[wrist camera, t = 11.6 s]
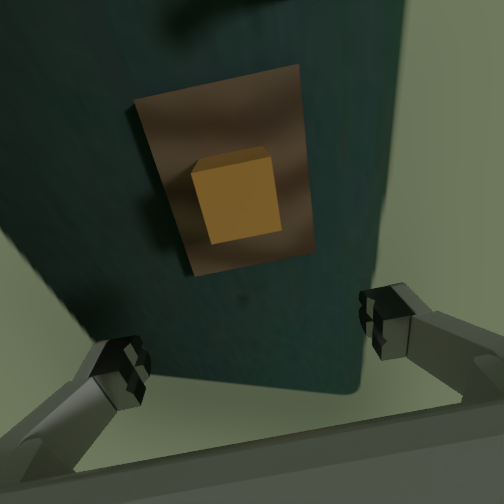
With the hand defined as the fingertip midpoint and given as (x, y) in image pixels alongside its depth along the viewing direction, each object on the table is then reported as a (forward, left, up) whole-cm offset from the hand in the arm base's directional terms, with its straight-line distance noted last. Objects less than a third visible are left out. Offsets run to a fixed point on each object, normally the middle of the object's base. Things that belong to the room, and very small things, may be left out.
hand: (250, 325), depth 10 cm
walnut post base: (0, 0, -21) cm, 21 cm away
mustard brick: (0, 0, -19) cm, 19 cm away
